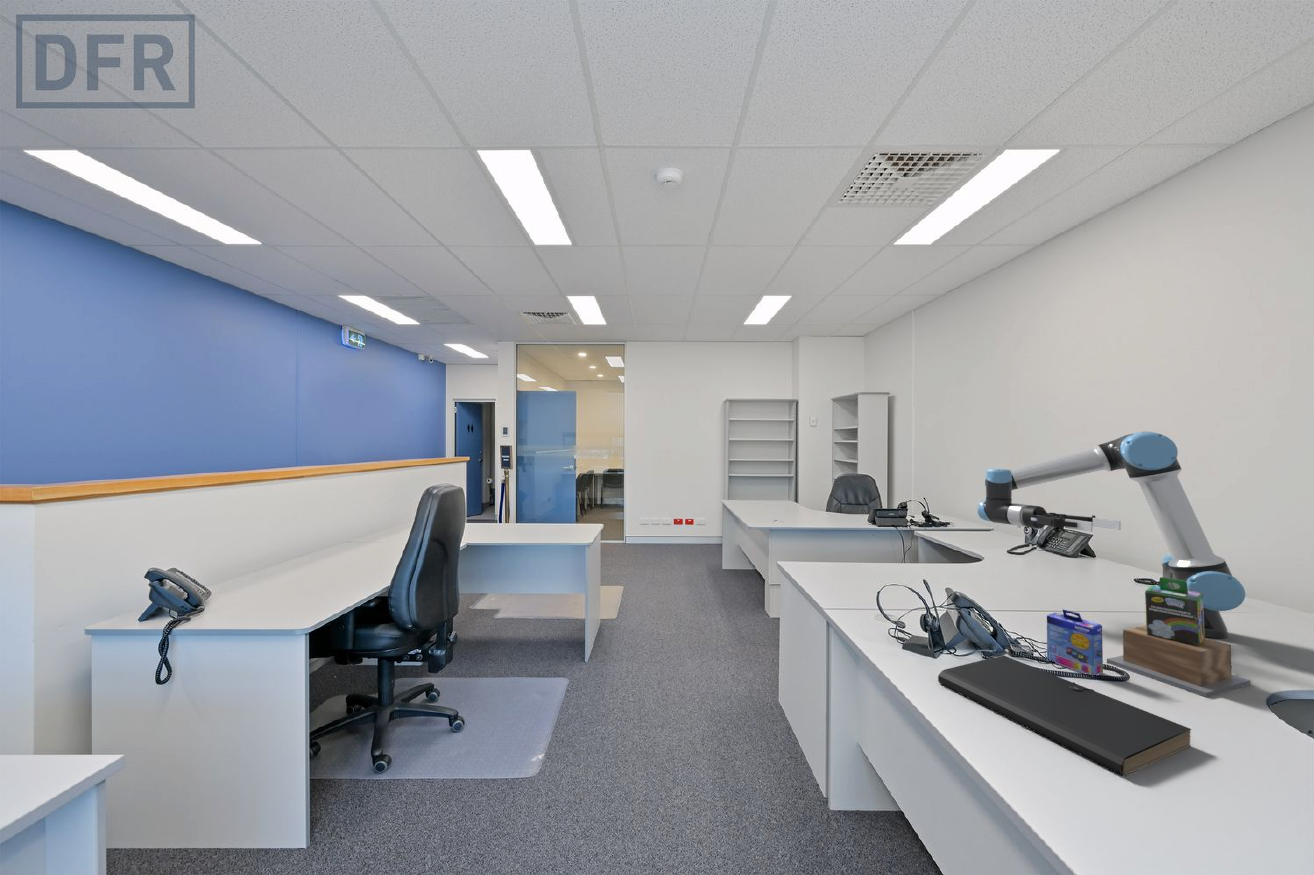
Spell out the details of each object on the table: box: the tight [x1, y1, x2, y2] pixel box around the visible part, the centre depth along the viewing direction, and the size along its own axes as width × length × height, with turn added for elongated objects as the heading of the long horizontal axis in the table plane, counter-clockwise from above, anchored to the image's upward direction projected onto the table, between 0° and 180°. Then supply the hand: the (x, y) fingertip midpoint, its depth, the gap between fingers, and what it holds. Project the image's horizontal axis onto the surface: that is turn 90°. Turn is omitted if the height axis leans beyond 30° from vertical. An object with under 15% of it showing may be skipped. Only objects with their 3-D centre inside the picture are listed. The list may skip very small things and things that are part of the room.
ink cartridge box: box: [1046, 609, 1104, 676], centre depth 119 cm, size 10×6×14 cm, turn 27°
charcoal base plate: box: [1106, 655, 1252, 698], centre depth 117 cm, size 20×18×1 cm
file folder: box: [937, 655, 1192, 777], centre depth 98 cm, size 33×4×24 cm
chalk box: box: [1144, 576, 1206, 646], centre depth 117 cm, size 9×9×15 cm
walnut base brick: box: [1122, 625, 1233, 687], centre depth 117 cm, size 14×14×8 cm
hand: (1106, 526), depth 137 cm, fingers open, 13 cm apart
